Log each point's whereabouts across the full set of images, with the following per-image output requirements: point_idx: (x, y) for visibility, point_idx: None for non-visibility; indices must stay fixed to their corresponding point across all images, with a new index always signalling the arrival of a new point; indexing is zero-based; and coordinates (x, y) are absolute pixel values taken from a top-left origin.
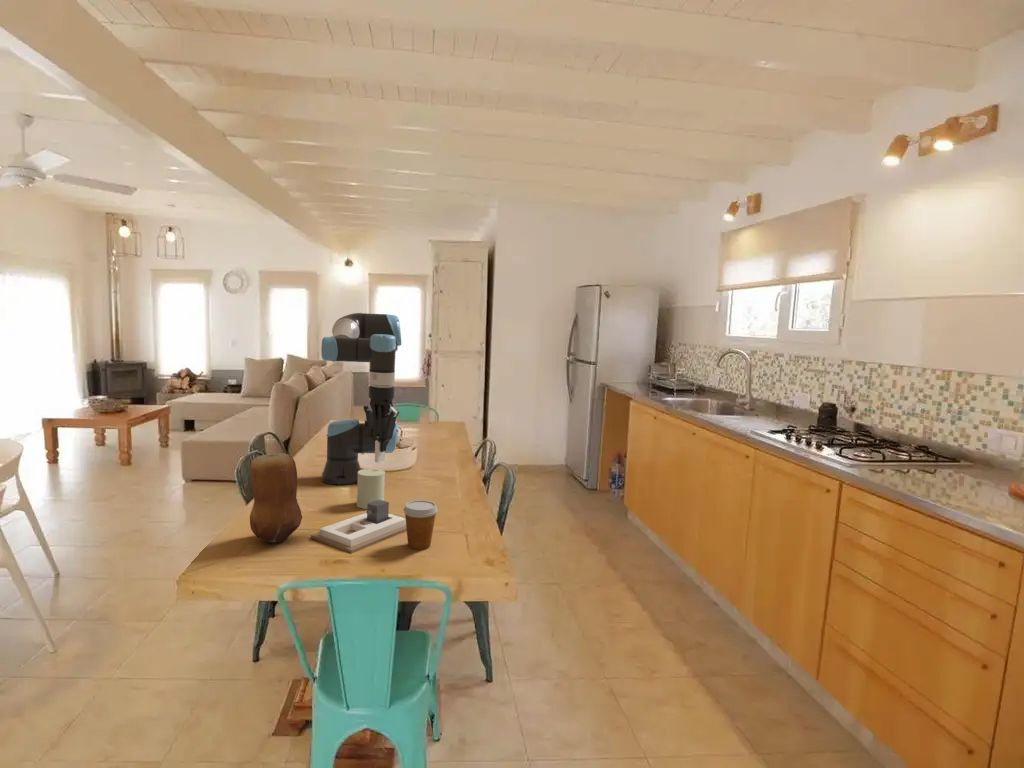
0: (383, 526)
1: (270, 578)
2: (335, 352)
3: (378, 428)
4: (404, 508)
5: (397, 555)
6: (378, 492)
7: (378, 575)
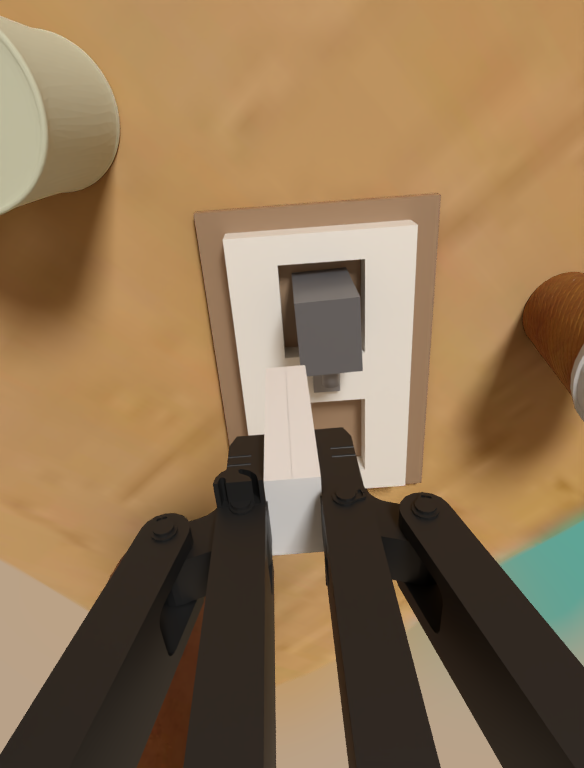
0: (404, 350)
1: None
2: None
3: (269, 655)
4: (581, 412)
5: (542, 407)
6: (89, 124)
7: (571, 507)
